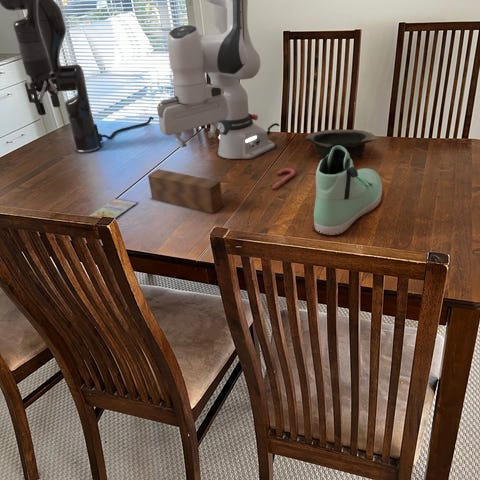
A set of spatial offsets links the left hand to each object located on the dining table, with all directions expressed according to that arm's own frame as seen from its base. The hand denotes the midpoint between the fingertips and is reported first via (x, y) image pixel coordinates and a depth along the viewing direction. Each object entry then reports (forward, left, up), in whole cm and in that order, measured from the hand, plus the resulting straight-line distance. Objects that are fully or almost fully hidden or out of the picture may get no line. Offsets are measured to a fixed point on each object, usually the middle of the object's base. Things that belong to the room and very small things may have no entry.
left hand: (49, 110), depth 152 cm
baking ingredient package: (+3, +28, -27) cm, 39 cm away
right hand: (-16, +50, -6) cm, 53 cm away
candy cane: (-44, +58, -27) cm, 78 cm away
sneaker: (-39, +86, -27) cm, 98 cm away
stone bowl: (-73, +62, -27) cm, 99 cm away
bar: (-15, +43, -27) cm, 53 cm away
